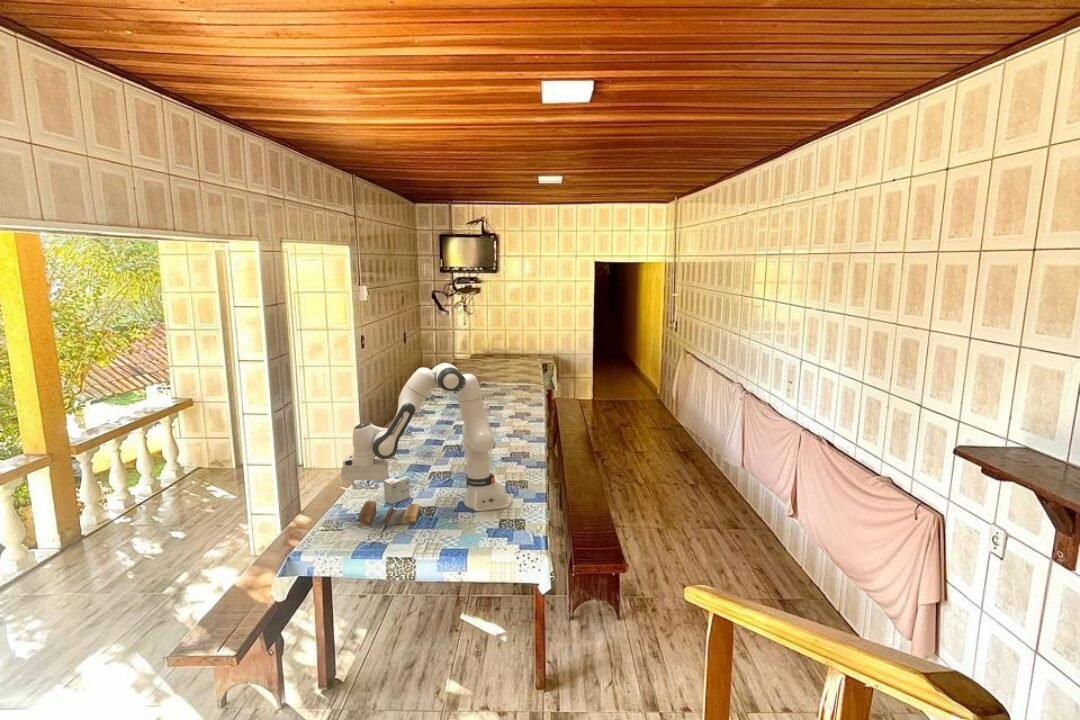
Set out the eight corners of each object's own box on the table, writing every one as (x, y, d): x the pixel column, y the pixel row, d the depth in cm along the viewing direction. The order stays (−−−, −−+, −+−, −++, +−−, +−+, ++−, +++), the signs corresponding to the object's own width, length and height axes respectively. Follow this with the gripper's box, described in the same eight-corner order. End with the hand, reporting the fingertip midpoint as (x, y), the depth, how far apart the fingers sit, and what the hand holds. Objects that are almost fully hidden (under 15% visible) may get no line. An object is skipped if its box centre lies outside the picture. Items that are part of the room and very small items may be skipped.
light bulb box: (402, 493, 276) (401, 473, 274) (410, 497, 272) (409, 476, 270) (384, 501, 268) (382, 480, 266) (392, 504, 264) (391, 483, 261)
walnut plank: (376, 513, 256) (375, 501, 254) (370, 525, 244) (369, 513, 243) (366, 513, 255) (365, 501, 254) (359, 526, 244) (359, 513, 242)
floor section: (419, 511, 257) (419, 503, 256) (415, 524, 244) (414, 516, 244) (390, 511, 256) (390, 503, 256) (384, 525, 244) (383, 517, 243)
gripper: (389, 456, 248) (390, 485, 250) (343, 456, 247) (344, 485, 249) (386, 461, 242) (387, 491, 244) (338, 462, 240) (340, 491, 243)
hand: (365, 488), depth 247 cm, fingers open, 8 cm apart
